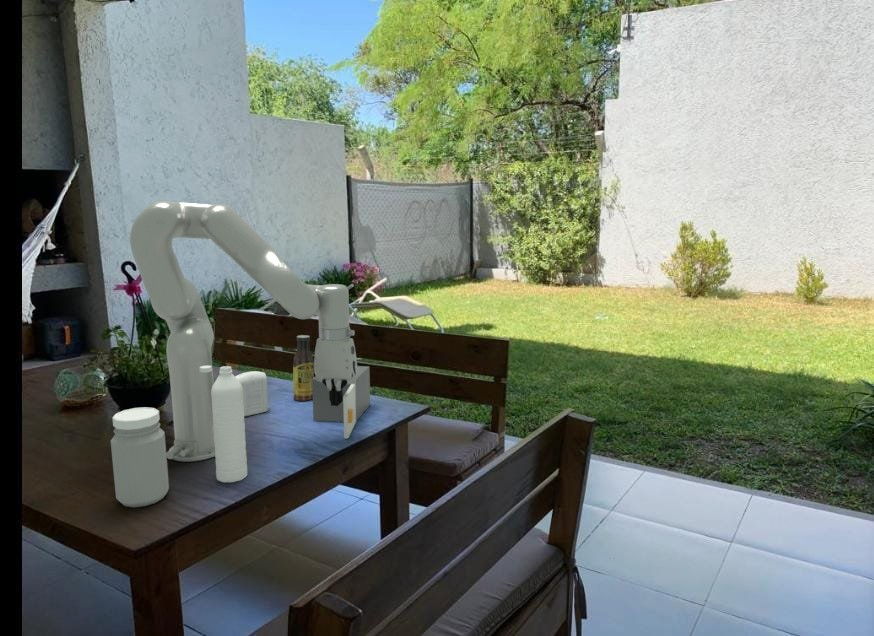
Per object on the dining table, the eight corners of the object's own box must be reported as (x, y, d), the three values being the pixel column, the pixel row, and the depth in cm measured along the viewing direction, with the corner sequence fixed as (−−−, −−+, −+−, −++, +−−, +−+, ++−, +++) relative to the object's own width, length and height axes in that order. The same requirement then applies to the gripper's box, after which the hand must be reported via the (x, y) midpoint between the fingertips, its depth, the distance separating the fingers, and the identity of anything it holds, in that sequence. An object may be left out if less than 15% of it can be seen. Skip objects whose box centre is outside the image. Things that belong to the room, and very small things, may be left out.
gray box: (355, 423, 169) (354, 378, 167) (308, 420, 171) (306, 376, 169) (370, 405, 185) (369, 363, 182) (326, 402, 187) (325, 362, 185)
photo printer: (263, 408, 182) (261, 367, 180) (270, 411, 179) (268, 370, 177) (230, 416, 175) (228, 374, 173) (237, 419, 172) (235, 377, 170)
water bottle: (251, 470, 138) (245, 363, 134) (242, 483, 132) (236, 370, 127) (212, 470, 138) (205, 363, 134) (201, 483, 132) (193, 370, 127)
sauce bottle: (298, 403, 187) (295, 339, 183) (290, 398, 192) (287, 335, 188) (318, 399, 190) (316, 336, 187) (309, 394, 195) (307, 333, 192)
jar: (172, 501, 123) (165, 416, 120) (118, 513, 118) (109, 425, 115) (166, 483, 132) (159, 403, 128) (115, 493, 127) (107, 410, 124)
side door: (359, 421, 169) (359, 383, 167) (352, 438, 156) (351, 397, 154) (352, 421, 169) (351, 383, 167) (343, 438, 156) (342, 396, 154)
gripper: (367, 332, 155) (368, 402, 158) (313, 329, 158) (315, 398, 161) (357, 338, 148) (358, 411, 151) (300, 335, 151) (302, 406, 154)
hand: (336, 404), depth 156 cm, fingers closed
